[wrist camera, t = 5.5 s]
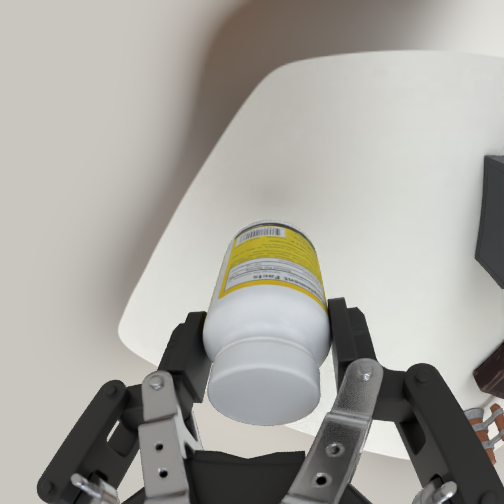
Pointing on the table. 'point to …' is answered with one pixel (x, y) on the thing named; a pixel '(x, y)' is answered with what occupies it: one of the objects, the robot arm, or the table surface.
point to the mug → (482, 427)
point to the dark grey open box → (492, 220)
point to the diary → (492, 374)
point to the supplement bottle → (267, 327)
